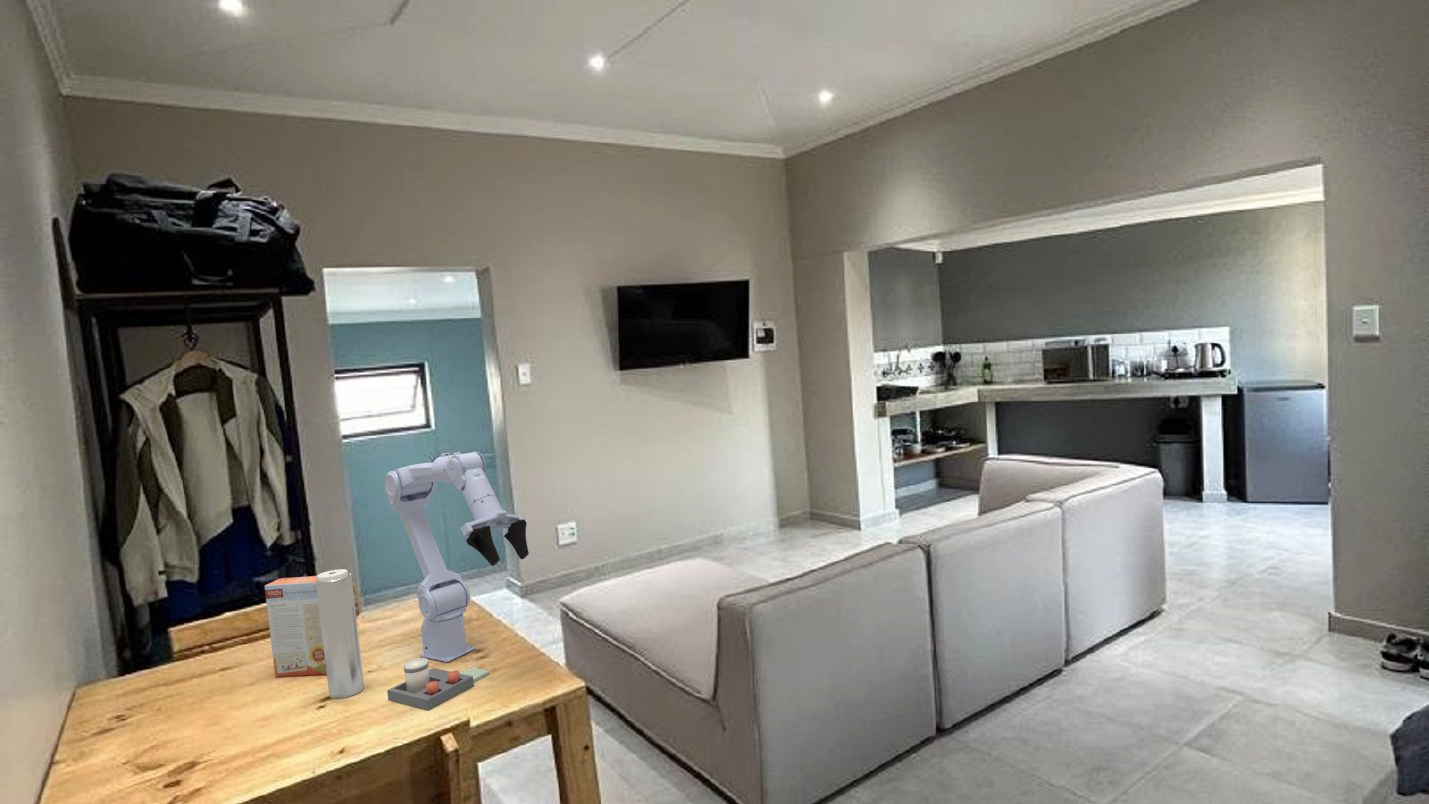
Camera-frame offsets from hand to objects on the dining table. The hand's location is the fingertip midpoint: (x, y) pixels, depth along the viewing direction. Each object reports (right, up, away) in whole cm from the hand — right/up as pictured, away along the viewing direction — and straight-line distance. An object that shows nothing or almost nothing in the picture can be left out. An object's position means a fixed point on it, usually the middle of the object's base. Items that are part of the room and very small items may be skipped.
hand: (510, 559), depth 149 cm
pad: (-10, -26, +6) cm, 28 cm away
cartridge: (-18, -27, -1) cm, 32 cm away
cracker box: (-49, -29, +17) cm, 59 cm away
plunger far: (-11, -24, -1) cm, 27 cm away
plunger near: (-14, -25, -5) cm, 29 cm away
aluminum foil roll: (-35, -28, +4) cm, 45 cm away
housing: (-16, -26, -1) cm, 31 cm away
